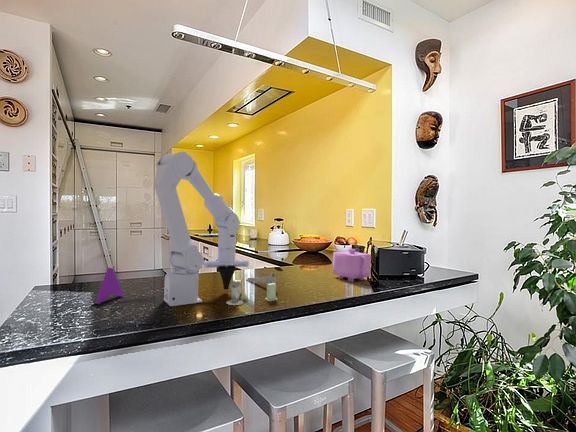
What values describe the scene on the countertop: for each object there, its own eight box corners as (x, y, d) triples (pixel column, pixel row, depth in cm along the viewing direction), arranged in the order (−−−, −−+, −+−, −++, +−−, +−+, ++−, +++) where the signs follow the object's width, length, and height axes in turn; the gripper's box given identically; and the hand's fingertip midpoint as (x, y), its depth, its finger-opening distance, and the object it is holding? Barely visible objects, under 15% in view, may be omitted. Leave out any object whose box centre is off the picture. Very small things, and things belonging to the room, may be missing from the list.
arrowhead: (111, 315, 100) (90, 297, 93) (107, 314, 100) (86, 296, 94) (130, 286, 106) (112, 267, 100) (126, 285, 107) (108, 267, 100)
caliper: (276, 292, 116) (276, 273, 116) (273, 292, 115) (274, 274, 115) (248, 280, 133) (248, 264, 132) (245, 281, 132) (246, 265, 132)
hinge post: (230, 306, 96) (231, 283, 96) (223, 302, 100) (224, 279, 100) (246, 304, 99) (246, 281, 99) (238, 300, 103) (239, 278, 103)
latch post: (268, 301, 103) (268, 285, 103) (264, 299, 105) (265, 283, 105) (277, 300, 105) (277, 284, 104) (273, 298, 106) (274, 282, 106)
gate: (238, 300, 101) (238, 286, 101) (231, 300, 101) (232, 286, 101) (241, 291, 113) (241, 278, 112) (235, 291, 112) (235, 278, 112)
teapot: (374, 281, 136) (375, 250, 136) (356, 284, 131) (357, 252, 130) (341, 272, 153) (342, 245, 153) (324, 274, 148) (325, 246, 147)
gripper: (205, 249, 105) (204, 292, 106) (250, 249, 110) (249, 290, 110) (203, 247, 112) (203, 287, 112) (246, 246, 116) (245, 285, 117)
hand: (225, 288), depth 112 cm, fingers closed
